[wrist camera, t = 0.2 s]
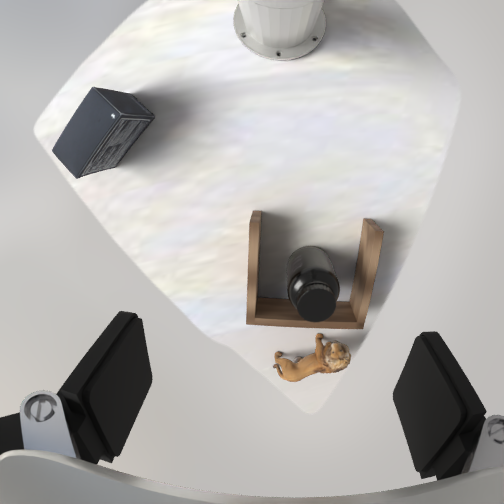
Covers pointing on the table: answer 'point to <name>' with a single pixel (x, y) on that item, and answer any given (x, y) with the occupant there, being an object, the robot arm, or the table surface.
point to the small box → (101, 131)
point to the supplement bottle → (312, 284)
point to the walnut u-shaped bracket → (345, 312)
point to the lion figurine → (314, 361)
